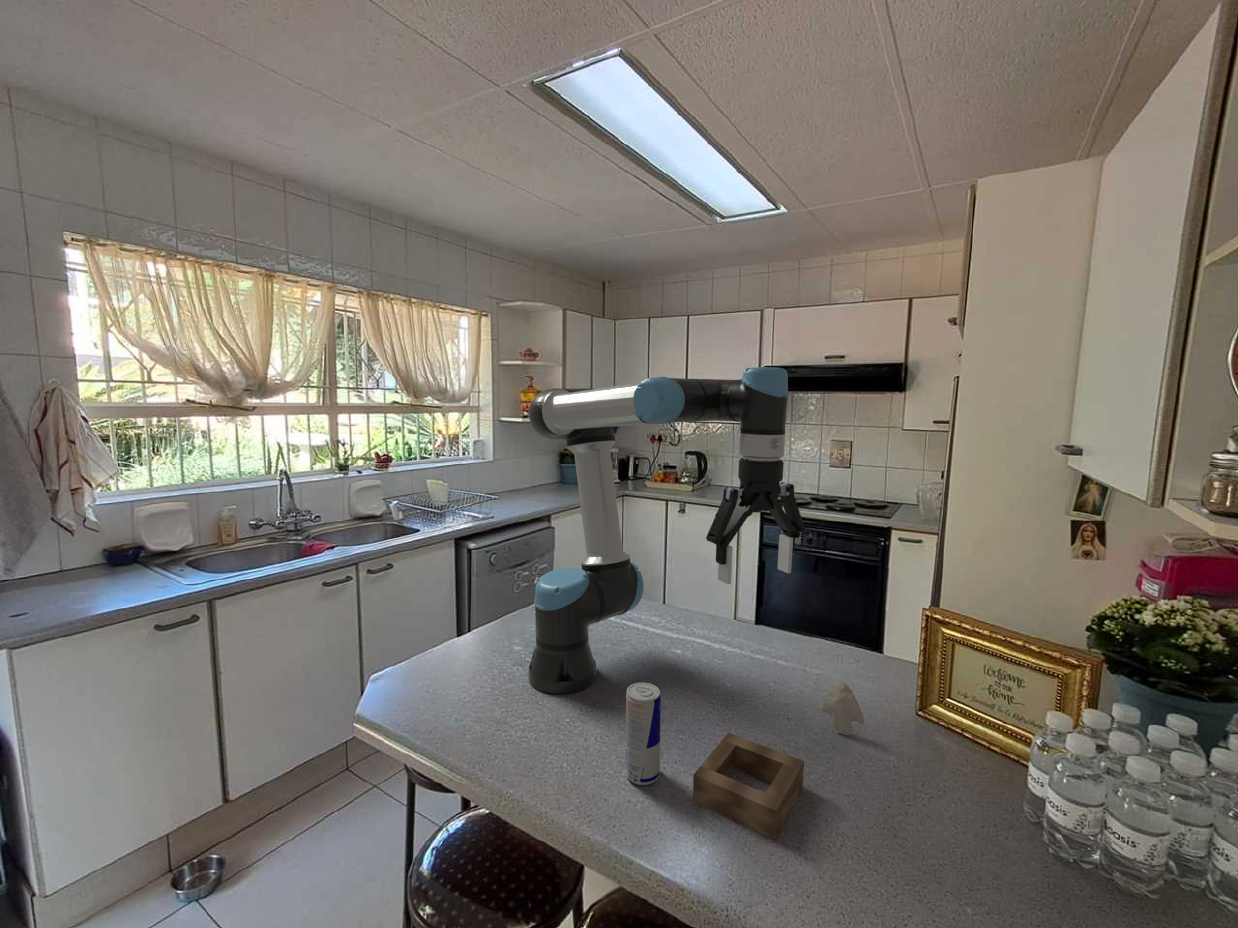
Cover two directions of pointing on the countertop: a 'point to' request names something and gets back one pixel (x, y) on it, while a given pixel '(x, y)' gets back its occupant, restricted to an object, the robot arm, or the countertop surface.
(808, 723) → the countertop surface
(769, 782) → the socket
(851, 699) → the arrowhead
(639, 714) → the beverage can
